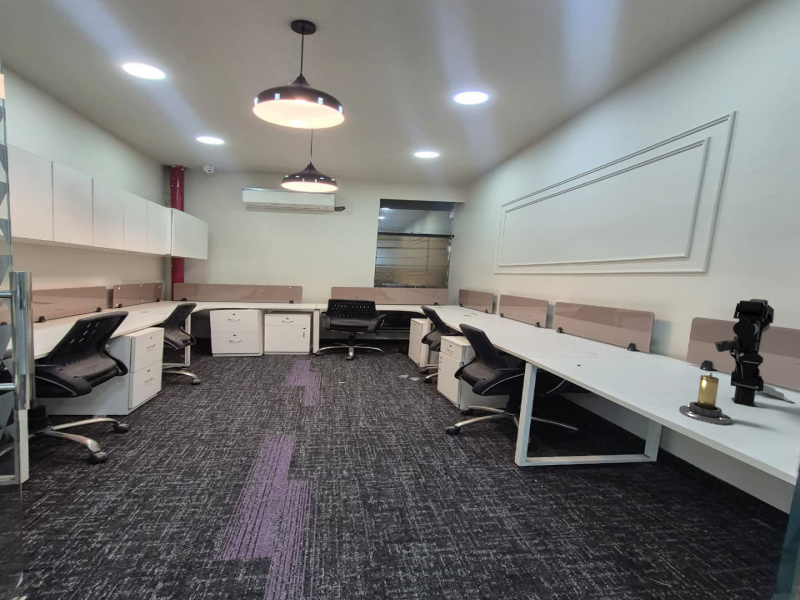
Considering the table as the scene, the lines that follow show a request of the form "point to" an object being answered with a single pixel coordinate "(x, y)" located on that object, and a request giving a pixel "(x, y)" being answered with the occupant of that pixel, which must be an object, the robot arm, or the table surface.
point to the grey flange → (705, 414)
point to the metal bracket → (774, 392)
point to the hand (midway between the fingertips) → (741, 376)
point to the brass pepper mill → (707, 392)
